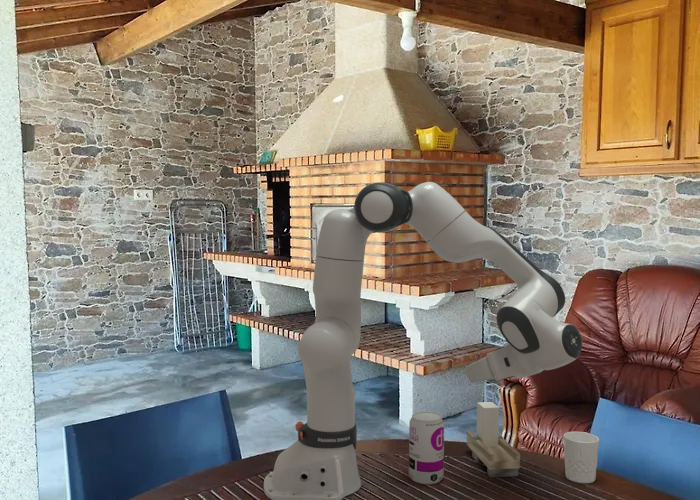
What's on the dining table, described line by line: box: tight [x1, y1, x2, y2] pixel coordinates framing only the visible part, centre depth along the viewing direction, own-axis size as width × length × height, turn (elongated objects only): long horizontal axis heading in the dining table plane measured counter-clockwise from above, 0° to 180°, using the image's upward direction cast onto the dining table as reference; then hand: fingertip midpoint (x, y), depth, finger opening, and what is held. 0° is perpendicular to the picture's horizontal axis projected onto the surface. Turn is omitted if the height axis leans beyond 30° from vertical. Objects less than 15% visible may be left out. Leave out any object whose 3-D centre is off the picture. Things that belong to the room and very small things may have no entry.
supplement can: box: [408, 411, 445, 485], centre depth 148 cm, size 8×8×15 cm
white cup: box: [563, 431, 600, 484], centre depth 150 cm, size 8×8×10 cm
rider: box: [476, 401, 500, 447], centre depth 161 cm, size 4×5×10 cm
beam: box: [466, 430, 521, 478], centre depth 158 cm, size 8×17×6 cm, turn 8°
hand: (482, 370), depth 154 cm, fingers open, 8 cm apart
